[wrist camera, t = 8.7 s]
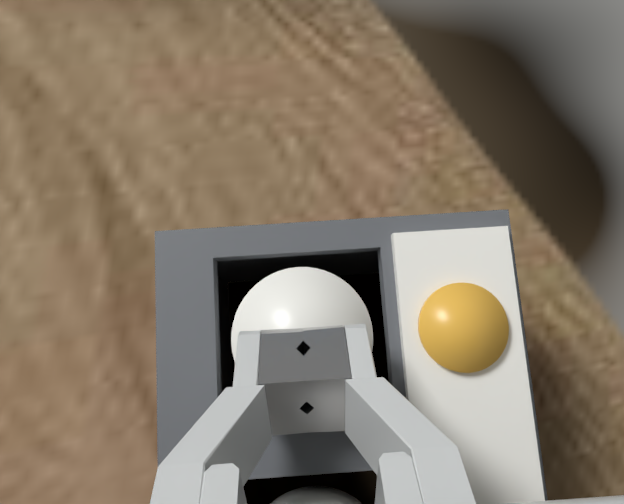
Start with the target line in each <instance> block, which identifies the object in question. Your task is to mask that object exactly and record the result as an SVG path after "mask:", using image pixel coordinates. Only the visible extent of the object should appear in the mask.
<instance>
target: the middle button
mask: <svg viewBox="0 0 624 504" xmlns="http://www.w3.org/2000/svg"><path fill="white" fill-rule="evenodd" d="M270 504H362V503H361V502H360V501H359V500H357V499H356V498H355V497H353V496H351V495H350V494H348V493H346V492H344V491H341V490H339V489H336V488H332V487H327V486H306V487H301V488H297V489H294V490H291V491H289V492H287V493H284V494H283V495H281V496H280V497H278V498H276V499H275V500H274V501H273V502H271V503H270Z"/></svg>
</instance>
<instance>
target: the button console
mask: <svg viewBox="0 0 624 504" xmlns="http://www.w3.org/2000/svg"><path fill="white" fill-rule="evenodd" d="M497 226H508V230H509V238H510V245H511V252H512V260H513V267H514V275H515V282H516V290H517V297H518V304H519V312H520V319H521V327H522V334H523V341H524V349H525V356H526V364H527V371H528V379H529V386H530V393H531V401H532V408H533V416H534V423H535V430H536V438H537V445H538V453H539V460H540V468H541V475H542V482H543V490H544V497H545V501H548V499H547V492H546V485H545V477H544V470H543V462H542V455H541V448H540V440H539V433H538V426H537V418H536V411H535V404H534V396H533V389H532V381H531V374H530V367H529V359H528V352H527V345H526V337H525V330H524V322H523V315H522V308H521V300H520V293H519V286H518V278H517V271H516V264H515V256H514V249H513V241H512V234H511V227H510V219H509V212H508V210H492V211H476V212H460V213H444V214H428V215H411V216H395V217H379V218H363V219H346V220H330V221H314V222H298V223H282V224H265V225H249V226H233V227H217V228H201V229H184V230H168V231H155V284H156V364H157V444H158V466H159V465H160V464H161V463H162V461H163V460H164V459H165V458H166V457H167V456H168V454H169V453H170V452H171V451H172V450H173V449H174V447H175V446H176V445H177V444H178V443H179V442H180V440H181V439H182V438H183V437H184V436H185V435H186V434H187V432H188V431H189V430H190V429H191V428H192V427H193V425H194V424H195V423H196V422H197V421H198V420H199V418H200V417H201V416H202V415H203V414H204V413H205V411H206V410H207V409H208V408H209V407H210V406H211V404H212V403H213V402H214V401H215V400H216V399H217V398H218V396H219V395H220V394H221V393H222V392H223V391H224V389H225V388H226V387H232V371H231V344H230V317H229V290H228V283H229V282H245V281H260V280H262V279H264V278H265V277H267V276H269V275H271V274H273V273H275V272H278V271H280V270H284V269H288V268H294V267H311V268H317V269H321V270H325V271H327V272H330V273H332V274H334V275H336V276H338V275H354V274H369V273H379V276H380V288H381V299H382V310H383V322H384V333H385V344H386V355H387V367H388V378H389V383H390V384H391V385H392V386H393V387H394V388H395V389H397V390H398V391H399V392H400V393H401V394H402V395H403V396H404V397H405V398H406V391H405V381H404V370H403V359H402V349H401V338H400V328H399V317H398V306H397V296H396V285H395V274H394V264H393V253H392V242H391V235H392V233H401V232H417V231H433V230H449V229H465V228H481V227H497ZM371 470H373V469H372V468H371V467H370V465H369V464H368V463H367V461H366V460H365V459H364V457H363V456H362V455H361V453H360V452H359V451H358V449H357V448H356V447H355V445H354V444H353V443H352V441H351V440H350V439H349V437H348V436H347V435H346V433H345V431H334V432H309V430H308V433H298V434H287V435H277V436H272V440H271V441H270V443H269V445H268V446H267V448H266V450H265V451H264V453H263V455H262V456H261V458H260V460H259V461H258V463H257V465H256V467H255V468H254V470H253V472H252V473H251V475H250V477H249V478H248V479H261V478H275V477H288V476H302V475H316V474H330V473H344V472H357V471H371Z"/></svg>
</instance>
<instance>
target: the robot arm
mask: <svg viewBox="0 0 624 504" xmlns="http://www.w3.org/2000/svg"><path fill="white" fill-rule="evenodd" d="M308 430H309V432H334V431H345V433H346V435H347V436H348V437H349V439H350V440H351V441H352V443H353V444H354V445H355V447H356V448H357V449H358V451H359V452H360V453H361V455H362V456H363V457H364V459H365V460H366V461H367V463H368V464H369V465H370V467H371V468H372V469H373V471H374V472H375V473H376V475H377V483H376V495H375V504H476V502H475V499H474V496H473V493H472V490H471V487H470V484H469V481H468V478H467V475H466V472H465V469H464V466H463V462H462V459H461V456H460V453H459V450H458V447H457V446H456V445H455V444H454V443H453V442H452V441H451V440H450V439H449V438H448V437H447V436H445V435H444V434H443V433H442V432H441V431H440V430H439V429H438V428H437V427H436V426H435V425H434V424H433V423H432V422H431V421H429V420H428V419H427V418H426V417H425V416H424V415H423V414H422V413H421V412H420V411H419V410H418V409H417V408H416V407H415V406H414V405H412V404H411V403H410V402H409V401H408V400H407V399H406V398H405V397H404V396H403V395H402V394H401V393H400V392H399V391H398V390H397V389H395V388H394V387H393V386H392V385H391V384H390V383H389V382H388V381H387V380H386V379H385V378H384V377H377V375H376V370H375V365H374V360H373V355H372V350H371V346H370V341H369V336H368V331H367V326H366V325H365V324H351V325H344V326H343V325H338V326H324V327H310V328H299V329H273V330H259V331H240V332H239V335H238V340H237V350H236V359H235V369H234V378H233V387H226V388H225V389H224V391H223V392H222V393H221V394H220V395H219V396H218V398H217V399H216V400H215V401H214V402H213V403H212V404H211V406H210V407H209V408H208V409H207V410H206V411H205V413H204V414H203V415H202V416H201V417H200V418H199V420H198V421H197V422H196V423H195V424H194V425H193V427H192V428H191V429H190V430H189V431H188V432H187V434H186V435H185V436H184V437H183V438H182V439H181V440H180V442H179V443H178V444H177V445H176V446H175V447H174V449H173V450H172V451H171V452H170V453H169V454H168V456H167V457H166V458H165V459H164V460H163V461H162V463H161V464H160V465H159V466H158V470H157V474H156V479H155V483H154V487H153V492H152V496H151V501H150V504H247V501H246V496H245V492H244V488H243V487H244V485H245V483H246V482H247V480H248V478H249V477H250V475H251V473H252V472H253V470H254V468H255V467H256V465H257V463H258V461H259V460H260V458H261V456H262V455H263V453H264V451H265V450H266V448H267V446H268V445H269V443H270V441H271V440H272V436H277V435H287V434H298V433H308ZM507 504H624V495H620V496H606V497H591V498H577V499H563V500H549V501H535V502H521V503H507Z"/></svg>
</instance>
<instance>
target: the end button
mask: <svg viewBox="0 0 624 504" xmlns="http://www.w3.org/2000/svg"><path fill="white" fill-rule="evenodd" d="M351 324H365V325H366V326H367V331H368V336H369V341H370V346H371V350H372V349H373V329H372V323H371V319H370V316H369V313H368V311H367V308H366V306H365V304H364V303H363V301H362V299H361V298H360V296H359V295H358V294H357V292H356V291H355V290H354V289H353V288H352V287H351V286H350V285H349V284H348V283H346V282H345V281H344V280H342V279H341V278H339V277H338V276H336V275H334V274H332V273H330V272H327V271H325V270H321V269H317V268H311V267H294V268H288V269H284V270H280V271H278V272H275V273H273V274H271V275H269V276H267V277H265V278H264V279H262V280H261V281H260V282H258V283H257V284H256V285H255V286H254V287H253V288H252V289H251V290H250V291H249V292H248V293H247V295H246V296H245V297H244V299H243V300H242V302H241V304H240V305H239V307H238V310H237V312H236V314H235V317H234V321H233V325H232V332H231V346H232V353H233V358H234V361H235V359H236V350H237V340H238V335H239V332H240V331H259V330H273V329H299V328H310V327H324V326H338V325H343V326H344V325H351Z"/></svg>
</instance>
